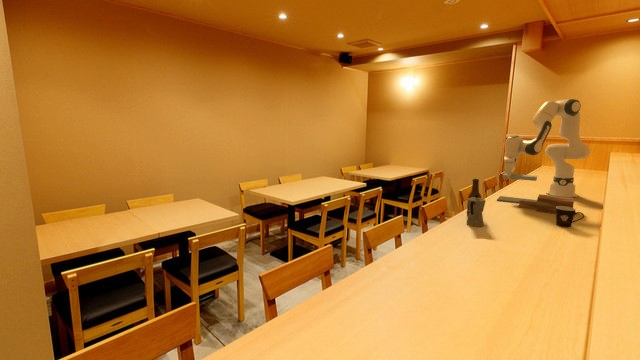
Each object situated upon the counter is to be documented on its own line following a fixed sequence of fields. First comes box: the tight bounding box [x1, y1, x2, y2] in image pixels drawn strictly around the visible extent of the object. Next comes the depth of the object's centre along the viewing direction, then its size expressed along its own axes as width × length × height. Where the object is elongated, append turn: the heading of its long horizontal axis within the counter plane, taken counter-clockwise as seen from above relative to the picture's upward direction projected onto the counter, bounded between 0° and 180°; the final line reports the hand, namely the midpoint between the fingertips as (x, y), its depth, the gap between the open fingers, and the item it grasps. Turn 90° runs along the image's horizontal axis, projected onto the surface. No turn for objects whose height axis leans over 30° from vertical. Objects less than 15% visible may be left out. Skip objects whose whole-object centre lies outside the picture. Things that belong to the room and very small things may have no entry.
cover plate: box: [502, 173, 538, 182], centre depth 219 cm, size 6×20×2 cm, turn 50°
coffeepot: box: [466, 194, 486, 228], centre depth 175 cm, size 15×9×18 cm, turn 137°
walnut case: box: [518, 194, 575, 215], centre depth 199 cm, size 12×28×9 cm, turn 50°
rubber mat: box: [496, 195, 537, 204], centre depth 221 cm, size 12×26×1 cm, turn 50°
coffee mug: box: [555, 206, 585, 229], centre depth 169 cm, size 12×9×10 cm
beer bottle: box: [466, 178, 482, 218], centre depth 188 cm, size 8×8×24 cm
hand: (509, 177), depth 223 cm, fingers closed on cover plate, 6 cm apart
